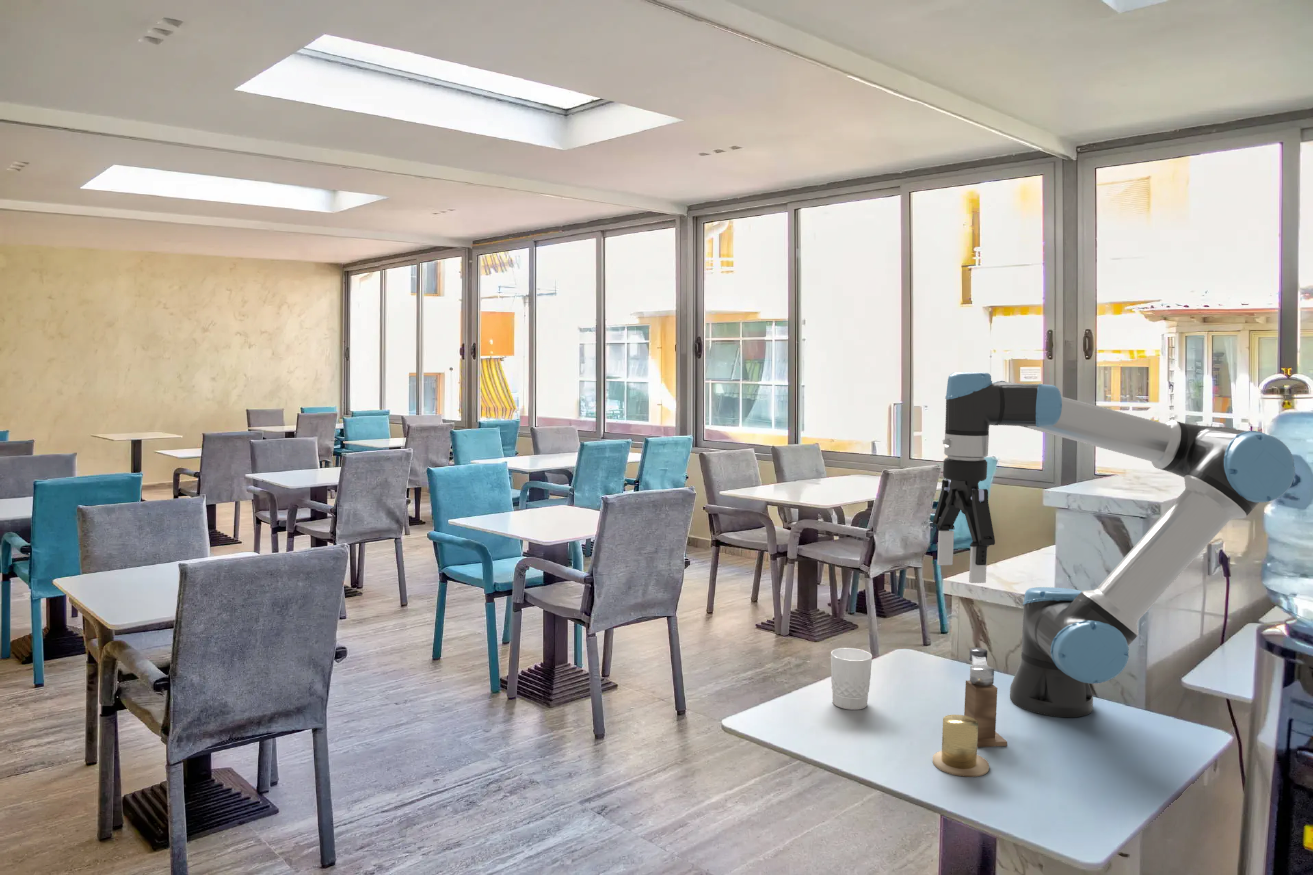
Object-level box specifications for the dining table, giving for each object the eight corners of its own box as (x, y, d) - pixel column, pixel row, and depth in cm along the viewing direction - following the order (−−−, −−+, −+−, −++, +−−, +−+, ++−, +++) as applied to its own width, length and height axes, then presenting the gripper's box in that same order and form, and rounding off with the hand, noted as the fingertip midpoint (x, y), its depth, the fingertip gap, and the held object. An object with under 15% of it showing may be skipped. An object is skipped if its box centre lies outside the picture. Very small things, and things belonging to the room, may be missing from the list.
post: (988, 729, 170) (990, 676, 169) (1007, 746, 163) (1009, 690, 162) (951, 731, 169) (954, 677, 168) (968, 747, 162) (971, 692, 161)
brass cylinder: (967, 753, 158) (969, 714, 157) (982, 768, 153) (984, 727, 152) (935, 754, 157) (937, 715, 157) (949, 769, 152) (951, 728, 151)
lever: (994, 686, 163) (994, 673, 162) (970, 684, 164) (970, 670, 163) (988, 658, 177) (989, 646, 177) (966, 656, 179) (967, 644, 178)
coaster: (974, 752, 160) (974, 748, 160) (998, 775, 151) (999, 772, 151) (924, 754, 159) (924, 750, 159) (946, 778, 150) (946, 774, 150)
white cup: (870, 713, 177) (872, 662, 176) (829, 709, 179) (830, 658, 178) (869, 698, 185) (871, 649, 184) (829, 694, 186) (831, 646, 186)
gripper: (918, 450, 179) (914, 558, 181) (976, 466, 154) (971, 591, 156) (955, 450, 180) (951, 557, 182) (1019, 466, 155) (1013, 590, 157)
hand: (960, 573), depth 169 cm, fingers open, 13 cm apart
